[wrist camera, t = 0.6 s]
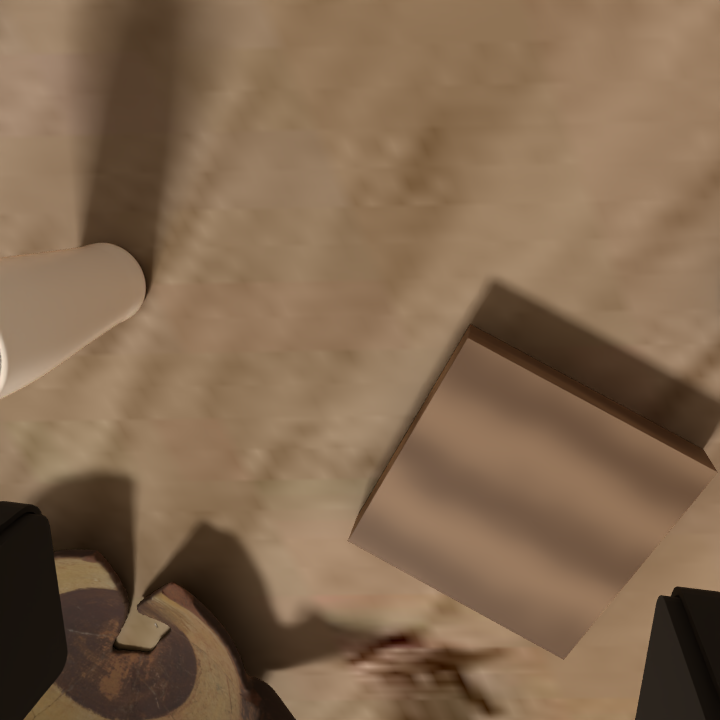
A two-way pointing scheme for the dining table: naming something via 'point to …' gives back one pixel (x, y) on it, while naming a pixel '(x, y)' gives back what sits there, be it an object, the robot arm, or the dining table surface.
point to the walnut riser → (527, 493)
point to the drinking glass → (61, 306)
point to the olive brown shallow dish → (146, 656)
